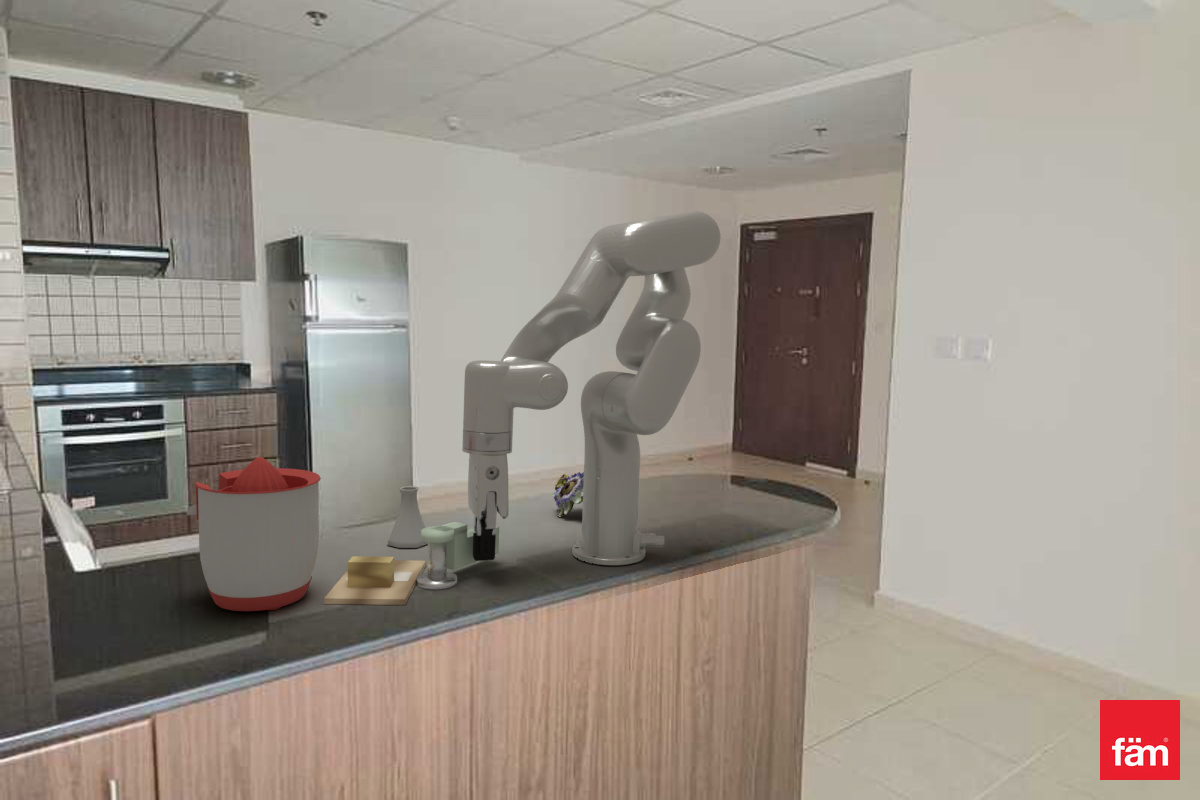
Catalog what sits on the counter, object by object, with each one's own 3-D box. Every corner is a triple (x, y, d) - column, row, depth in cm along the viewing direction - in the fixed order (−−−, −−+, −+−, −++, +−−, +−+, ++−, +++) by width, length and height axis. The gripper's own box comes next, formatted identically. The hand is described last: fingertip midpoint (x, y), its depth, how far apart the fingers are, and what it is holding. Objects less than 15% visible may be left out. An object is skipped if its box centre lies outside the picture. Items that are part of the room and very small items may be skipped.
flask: (418, 551, 129) (419, 493, 128) (379, 547, 130) (380, 490, 129) (436, 539, 136) (437, 485, 135) (399, 536, 138) (399, 482, 136)
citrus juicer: (223, 576, 113) (221, 444, 111) (337, 581, 113) (337, 449, 111) (159, 616, 98) (155, 464, 96) (292, 623, 97) (291, 470, 95)
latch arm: (438, 580, 110) (438, 536, 110) (413, 573, 113) (414, 531, 112) (503, 554, 124) (504, 515, 123) (480, 548, 126) (481, 510, 125)
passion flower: (561, 543, 155) (538, 490, 159) (604, 526, 161) (580, 476, 165) (582, 524, 146) (557, 469, 150) (627, 507, 152) (601, 455, 156)
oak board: (425, 565, 122) (426, 538, 121) (405, 604, 105) (405, 573, 104) (356, 564, 121) (356, 537, 121) (323, 604, 104) (323, 572, 104)
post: (459, 576, 117) (460, 534, 116) (454, 590, 111) (455, 546, 110) (420, 575, 117) (420, 534, 116) (413, 589, 111) (413, 545, 110)
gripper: (522, 449, 110) (517, 573, 111) (502, 434, 124) (498, 544, 125) (470, 450, 107) (466, 575, 109) (456, 434, 121) (453, 546, 123)
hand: (483, 558), depth 117 cm, fingers closed
